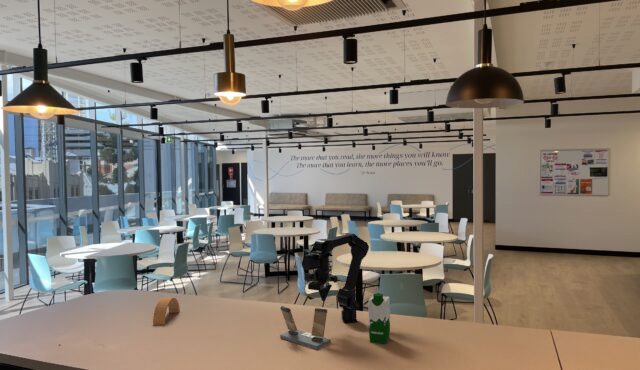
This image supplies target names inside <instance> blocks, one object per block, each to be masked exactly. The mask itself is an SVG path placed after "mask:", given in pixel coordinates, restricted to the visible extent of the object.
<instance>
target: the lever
mask: <svg viewBox="0 0 640 370" xmlns="http://www.w3.org/2000/svg"><path fill="white" fill-rule="evenodd" d="M280 310H281V311H280V312H281V314H282V316H283V318H284V322H285V324H286V328H287V330H288V331H290V330H291V331H293V332H296V331H297V330H298V328H297V326H296V325H297V324H296V323H295V320H294V316H293V314H292V311H291V308H289V307H287V306H284V305H281V306H280Z"/></svg>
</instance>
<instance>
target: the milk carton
mask: <svg viewBox="0 0 640 370" xmlns="http://www.w3.org/2000/svg"><path fill="white" fill-rule="evenodd" d="M367 304H368V333H369V335H368V336H369V337H368V338H369V342H370V343H377V344H385V345H387V343H388V341H389V339H390V334H391V333H390V332H391V302H390V296H384V295H383V294H382V293H373V295H371V296H370V297H369V299H368V303H367Z"/></svg>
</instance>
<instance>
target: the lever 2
mask: <svg viewBox="0 0 640 370" xmlns="http://www.w3.org/2000/svg"><path fill="white" fill-rule="evenodd" d="M327 314H328V309H326V308H320V307H315V308H314V314H313V321H312V328H311V334H312V336H318V337H324V338H325V330H326V322H327V317H328V315H327Z"/></svg>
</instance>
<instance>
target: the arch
mask: <svg viewBox="0 0 640 370" xmlns="http://www.w3.org/2000/svg"><path fill="white" fill-rule="evenodd" d="M179 303H180V302H179V301H178V299H177V298H176V297H162V298H160V299H159V300H158V301H157V303H156V306H155V308H154V312H153V316H152V317H153V318H152V325H153V326H154V325H155V326H156V325H160V326H161V325H165V324H166V316H167V315H166V314H167V309H168V313H180V312H181V311H180V309H181V308H180V304H179Z"/></svg>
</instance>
